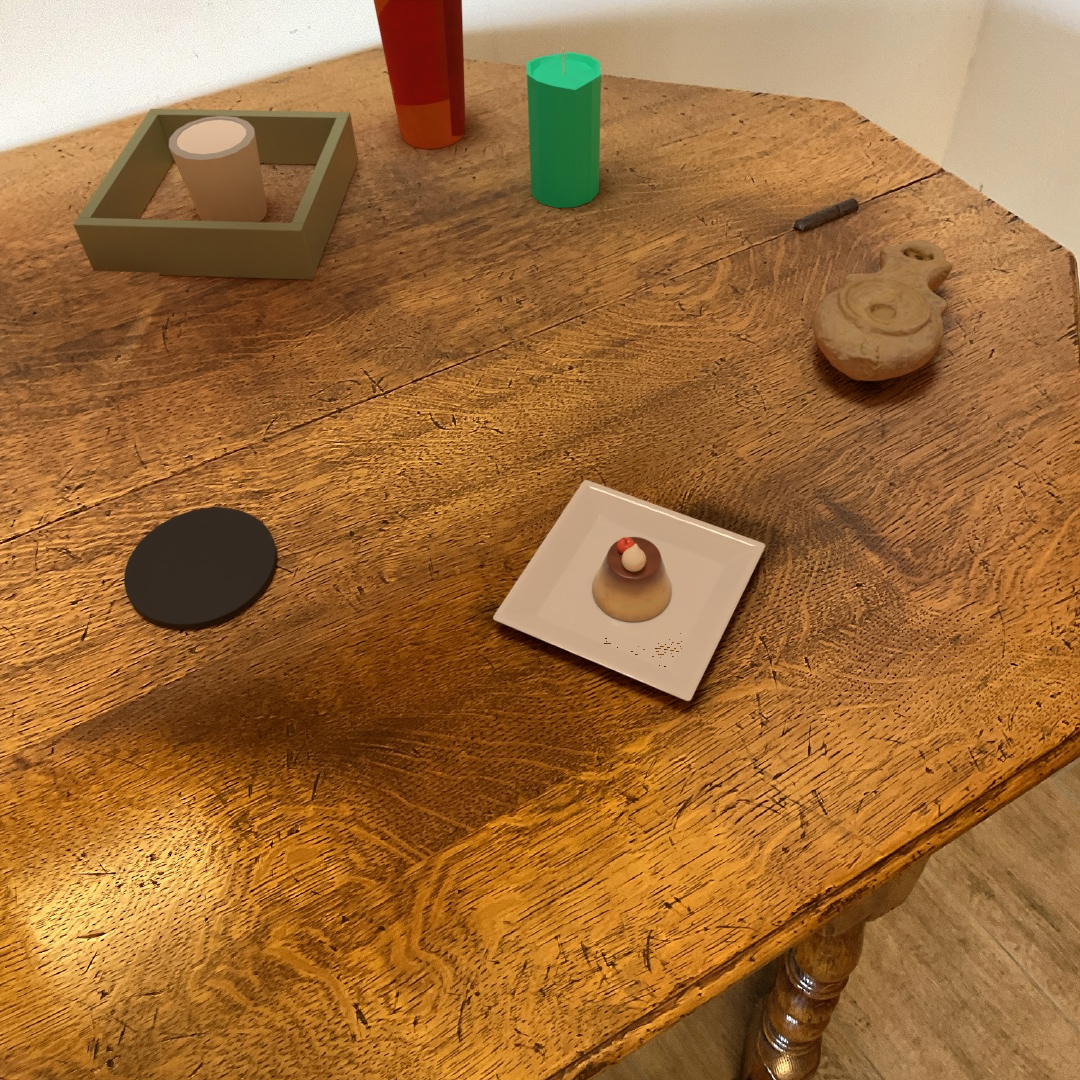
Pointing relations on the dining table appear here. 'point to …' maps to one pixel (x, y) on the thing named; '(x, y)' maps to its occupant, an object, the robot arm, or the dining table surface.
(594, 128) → the candle
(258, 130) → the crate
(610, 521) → the dessert
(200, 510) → the coaster
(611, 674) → the dining table surface
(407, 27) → the coffee cup
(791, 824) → the dining table surface
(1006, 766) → the dining table surface
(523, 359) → the dining table surface
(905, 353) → the oil lamp
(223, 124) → the beige tapered cylinder
